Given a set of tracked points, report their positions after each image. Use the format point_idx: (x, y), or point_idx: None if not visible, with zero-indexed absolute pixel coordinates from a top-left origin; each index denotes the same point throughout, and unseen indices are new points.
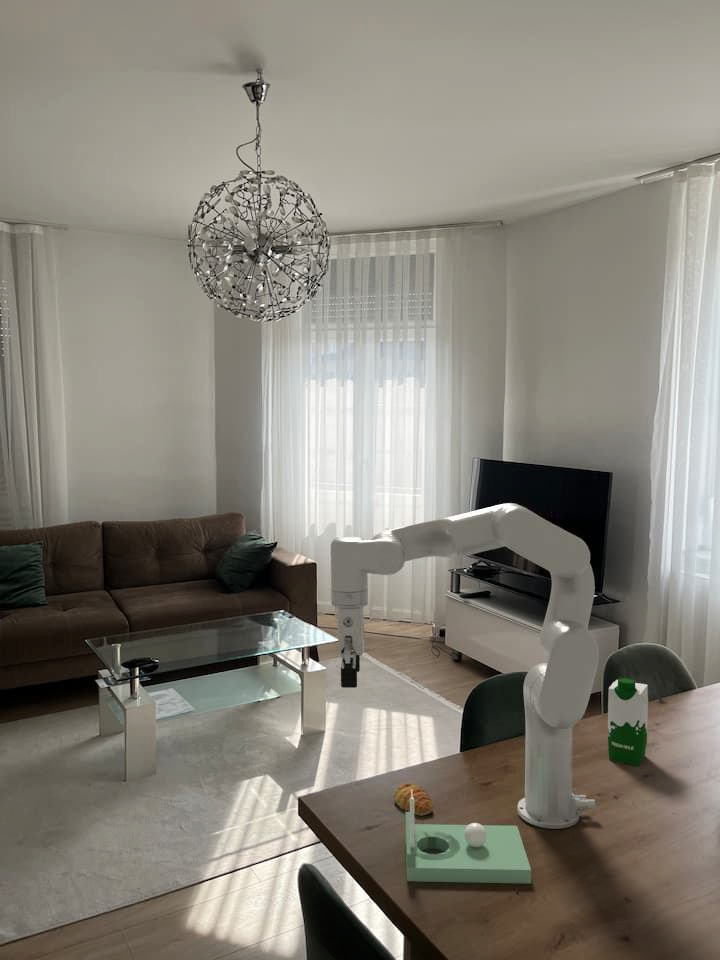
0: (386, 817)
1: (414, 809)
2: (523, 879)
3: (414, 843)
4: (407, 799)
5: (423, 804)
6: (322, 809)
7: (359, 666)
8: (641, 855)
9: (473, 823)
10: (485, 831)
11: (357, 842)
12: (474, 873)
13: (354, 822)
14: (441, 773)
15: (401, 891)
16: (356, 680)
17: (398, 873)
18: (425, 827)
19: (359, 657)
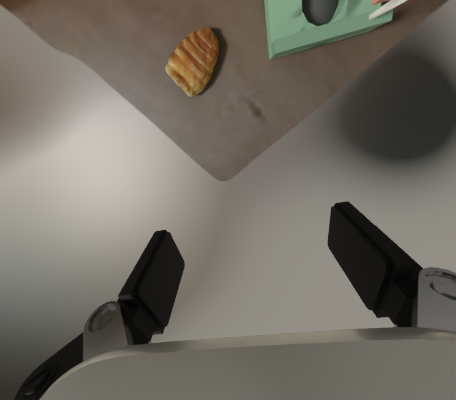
0: (231, 97)
1: (216, 58)
2: None
3: (364, 13)
4: (206, 71)
5: (210, 42)
6: (231, 169)
7: (158, 242)
8: None
9: None
10: None
11: (287, 117)
12: None
13: (249, 131)
14: (92, 40)
15: (385, 35)
16: (362, 216)
17: (348, 49)
18: (277, 20)
19: (138, 274)
